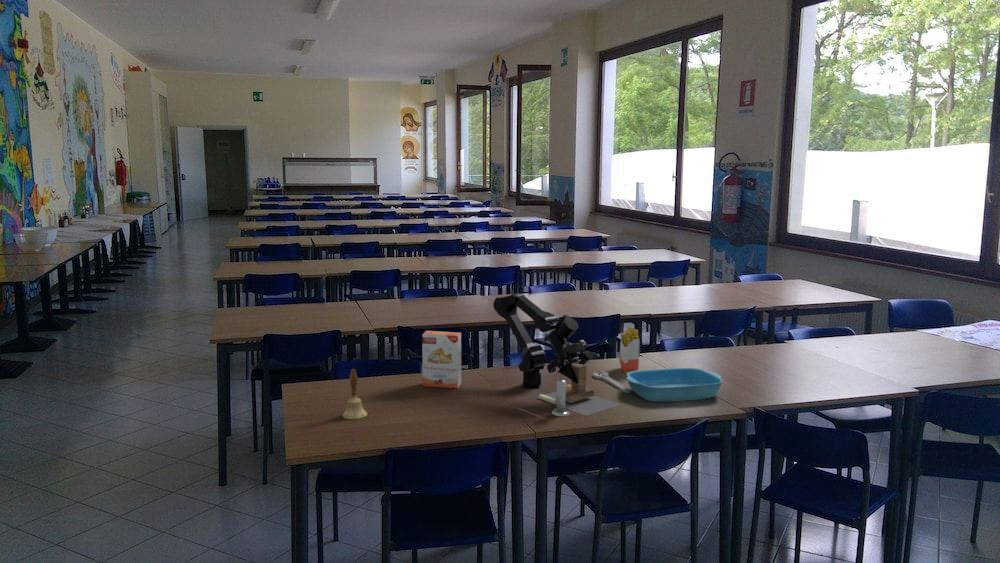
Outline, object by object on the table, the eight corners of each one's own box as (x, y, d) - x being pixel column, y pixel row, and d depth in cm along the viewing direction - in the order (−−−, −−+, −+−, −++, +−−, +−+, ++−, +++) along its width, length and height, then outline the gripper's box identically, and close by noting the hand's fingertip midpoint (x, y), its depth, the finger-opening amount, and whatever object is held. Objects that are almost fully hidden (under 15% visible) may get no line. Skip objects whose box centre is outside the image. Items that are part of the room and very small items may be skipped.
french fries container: (627, 375, 294) (629, 331, 291) (618, 367, 304) (620, 325, 301) (638, 374, 294) (640, 331, 291) (628, 367, 305) (630, 325, 302)
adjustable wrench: (632, 394, 271) (632, 389, 271) (616, 395, 270) (616, 390, 269) (604, 374, 295) (605, 370, 295) (590, 375, 293) (590, 371, 293)
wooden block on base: (562, 399, 258) (563, 367, 256) (585, 393, 265) (586, 361, 263) (570, 402, 255) (571, 370, 253) (593, 396, 262) (594, 364, 260)
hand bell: (338, 418, 242) (337, 372, 239) (347, 410, 250) (346, 365, 247) (362, 420, 241) (361, 373, 238) (370, 411, 249) (369, 366, 246)
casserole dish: (701, 382, 286) (702, 364, 285) (733, 399, 265) (735, 381, 264) (615, 389, 276) (615, 371, 275) (641, 408, 255) (642, 388, 254)
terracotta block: (559, 397, 264) (559, 386, 263) (568, 394, 267) (569, 384, 266) (569, 401, 260) (569, 390, 259) (578, 398, 263) (579, 387, 263)
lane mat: (535, 398, 264) (535, 394, 264) (570, 388, 276) (570, 384, 275) (585, 416, 245) (586, 412, 245) (620, 405, 257) (621, 401, 256)
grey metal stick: (551, 417, 245) (552, 382, 243) (552, 411, 251) (552, 377, 249) (569, 417, 244) (570, 383, 242) (569, 411, 250) (570, 378, 248)
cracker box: (422, 387, 276) (421, 333, 272) (426, 382, 282) (425, 329, 278) (457, 389, 274) (457, 335, 270) (461, 384, 279) (461, 331, 276)
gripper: (553, 337, 253) (575, 375, 247) (590, 329, 265) (611, 365, 259) (537, 353, 260) (558, 391, 254) (573, 345, 272) (594, 381, 266)
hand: (581, 381), depth 258 cm, fingers closed on wooden block on base, 4 cm apart
